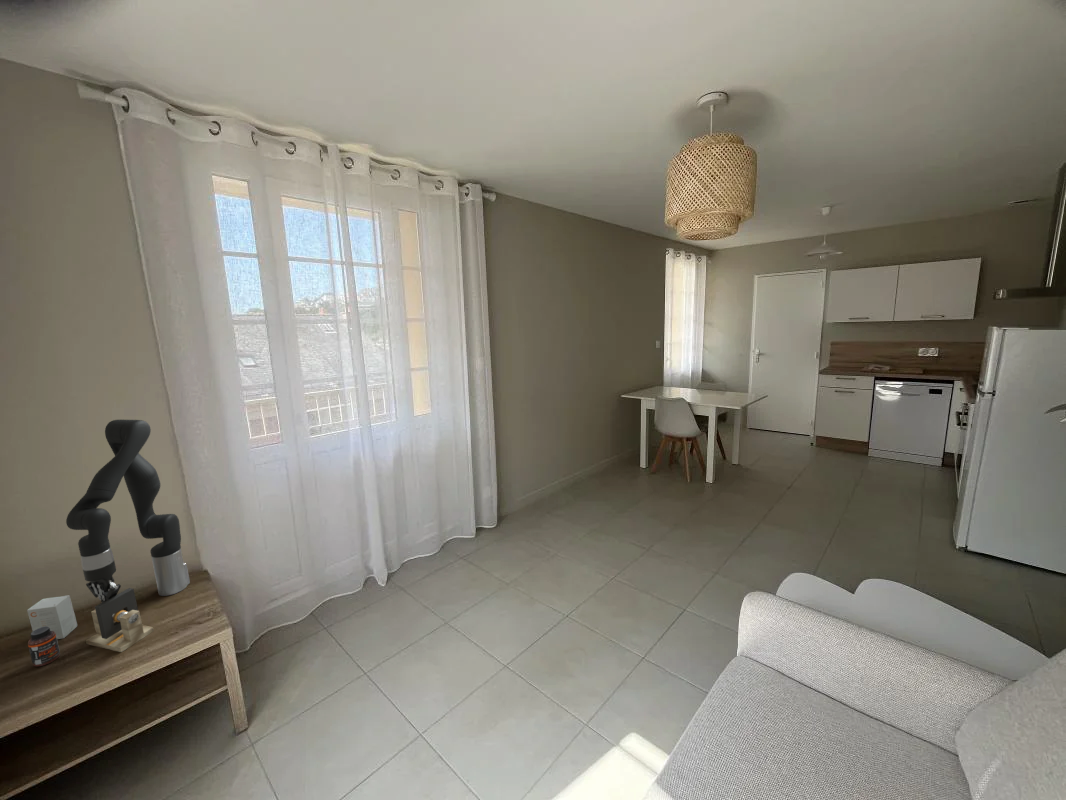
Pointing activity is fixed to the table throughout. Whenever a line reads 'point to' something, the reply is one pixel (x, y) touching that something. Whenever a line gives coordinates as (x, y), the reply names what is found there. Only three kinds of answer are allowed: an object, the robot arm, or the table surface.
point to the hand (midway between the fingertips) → (108, 607)
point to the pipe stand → (121, 631)
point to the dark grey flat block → (114, 611)
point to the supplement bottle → (43, 646)
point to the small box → (53, 615)
